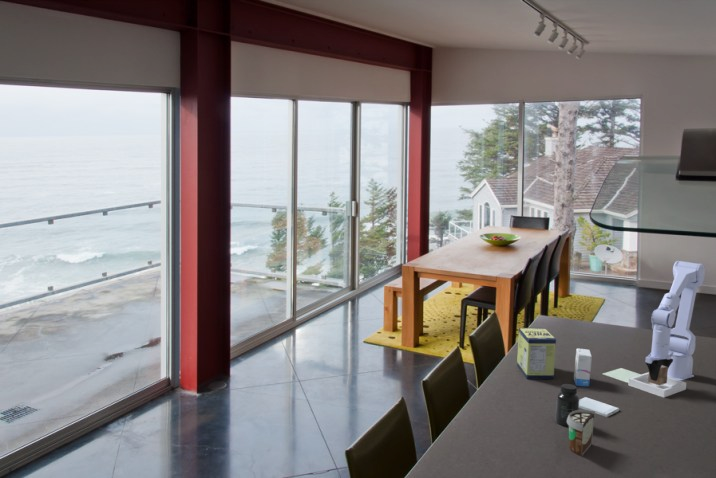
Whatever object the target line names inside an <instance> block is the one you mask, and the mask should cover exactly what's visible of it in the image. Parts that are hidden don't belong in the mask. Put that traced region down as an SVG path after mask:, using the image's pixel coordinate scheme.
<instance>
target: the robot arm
mask: <svg viewBox="0 0 716 478" xmlns="http://www.w3.org/2000/svg"><path fill="white" fill-rule="evenodd" d="M672 274H673V281H672V285H671V287H670V289H669V292H667V293H664V295H663V297H662V299H661V302H660V303H659V306H658V307H657V308H656V309H654V310H653V312H652V313H651V317H650V318H651V319H650V321H651V329H652V330H653V331H652V338H651V339H652V340H651V341H652V342H651V351H650V353H649V354H648V355H647V356H645V361H644V362H645V365H646V366H647V369H648V372H649V373H650V378H651V380H654V381H657V379H658V374H659V370H660V368H661V366H662V365H663V366H666V367H668V374H667V377H670V378H673V379H676V380H679V381H684V380H686V379H687V380H688V379H689V378H690V379H691V378H694V377H695V375H694V374H693V365H694V358H693V356H692V355H693V354H694V352H695V350H696V340H697V339H696V336H695V334H694V333H693V332H692V331H691V330H690V327H691V321H692V317H693V311H694V307H695V301H696V296H697V291H698V288H699V287H702V286H703V283H704V280H705V275H706V268H705V266H704V264H703V263H695V262H691V261H690V262H689V261H682V260H676V261H675V262H674V264H673V267H672ZM677 309H678V312H677ZM676 312H677V314H676ZM675 319H676V321H675ZM674 323H675V327H673V325H674ZM672 327H673V328H672Z"/></svg>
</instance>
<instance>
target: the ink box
mask: <svg viewBox="0 0 716 478" xmlns="http://www.w3.org/2000/svg"><path fill="white" fill-rule="evenodd" d="M591 353H592V352H591V351H590V349H587V348H586V349H585V348H580V347H579V348H576V350H575V361H574V372H573V380H574V383H575V384H574V385H575V386H576V387H577V386H578V387H587V388H588V387H590V380H591V372H592V371H591V370H592V357H593V356H592V354H591Z"/></svg>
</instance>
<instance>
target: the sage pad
mask: <svg viewBox="0 0 716 478" xmlns="http://www.w3.org/2000/svg"><path fill="white" fill-rule="evenodd" d="M641 374H642V373H641ZM641 374H640V373H637V372H635V371H631V370H628V369H625V368H622V367H620V368H616V369H613V370H610V371H607V372H603V373H602V375H604V376H607V377H610V378H612V379H616V380H617V381H621V382H624V383H627V384H628V382H629V378H632V377H635V376H638V375H641Z"/></svg>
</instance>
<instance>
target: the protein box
mask: <svg viewBox="0 0 716 478" xmlns="http://www.w3.org/2000/svg"><path fill="white" fill-rule="evenodd" d="M556 345H557V339H556V337H555V336H553V334H552V333H550V332H549V331H548V330H547V329H546V328H545V327H518V339H517V357H516V358H517V359H516V367H518V369H519V370H520V372H521V373H522V375H523V376H524V377H525V379H527V380H554V377H555V362H556V361H555V360H556V347H557V346H556Z"/></svg>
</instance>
